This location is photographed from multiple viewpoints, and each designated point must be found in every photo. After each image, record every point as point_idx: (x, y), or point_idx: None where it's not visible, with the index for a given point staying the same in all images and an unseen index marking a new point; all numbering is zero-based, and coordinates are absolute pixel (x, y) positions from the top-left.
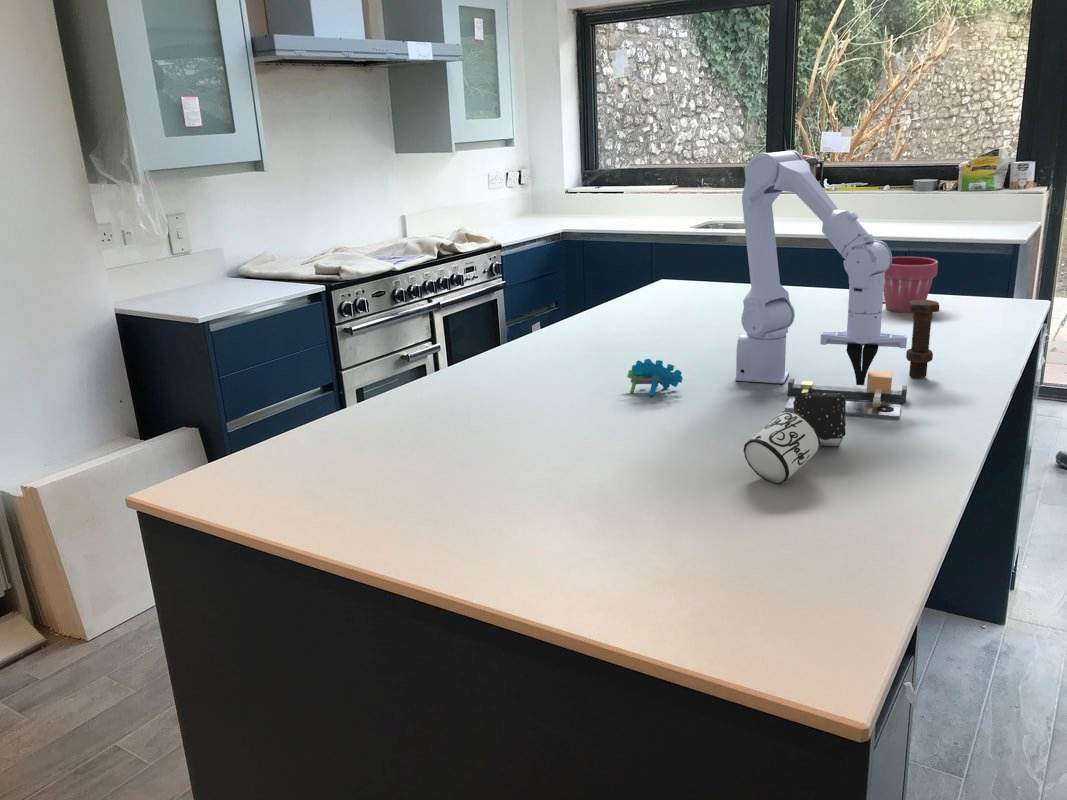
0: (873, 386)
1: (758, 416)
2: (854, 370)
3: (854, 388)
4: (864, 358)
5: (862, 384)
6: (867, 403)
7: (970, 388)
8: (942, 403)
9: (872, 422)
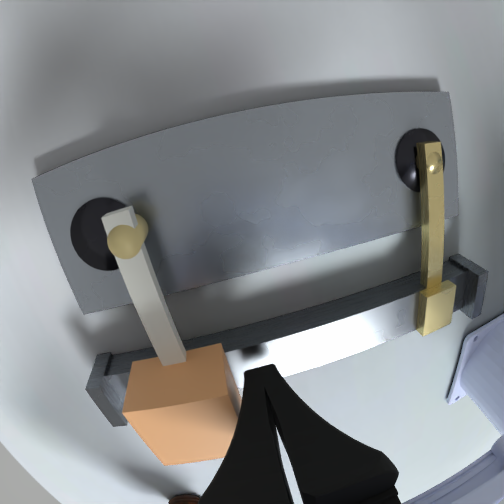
0: (195, 366)
1: (470, 27)
2: (302, 402)
3: (283, 371)
4: (265, 468)
5: (249, 371)
6: (193, 276)
7: (69, 475)
8: (36, 390)
9: (109, 84)
